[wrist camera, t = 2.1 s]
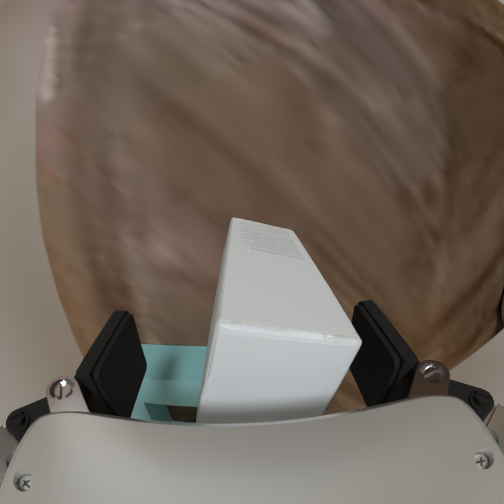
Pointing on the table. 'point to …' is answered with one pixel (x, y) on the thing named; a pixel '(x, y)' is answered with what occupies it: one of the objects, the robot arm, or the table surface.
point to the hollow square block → (169, 380)
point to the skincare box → (272, 332)
